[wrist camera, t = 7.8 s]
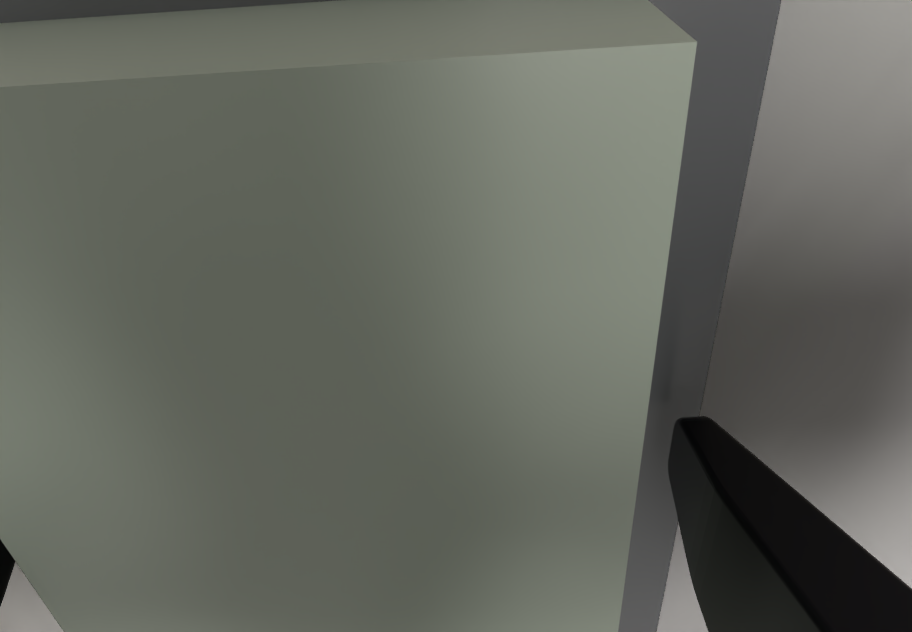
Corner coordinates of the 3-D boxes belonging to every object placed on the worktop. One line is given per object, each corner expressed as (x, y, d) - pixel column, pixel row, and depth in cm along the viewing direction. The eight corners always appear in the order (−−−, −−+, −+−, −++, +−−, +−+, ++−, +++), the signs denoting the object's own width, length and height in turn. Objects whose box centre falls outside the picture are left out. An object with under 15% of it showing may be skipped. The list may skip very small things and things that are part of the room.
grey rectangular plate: (647, 610, 14) (654, 639, 13) (146, 633, 14) (135, 662, 13) (772, -88, 7) (797, -82, 6) (-221, -24, 7) (-270, -12, 7)
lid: (578, 626, 13) (600, 762, 11) (206, 643, 13) (166, 780, 11) (625, -19, 7) (698, 41, 5) (-93, 30, 7) (-299, 105, 5)
